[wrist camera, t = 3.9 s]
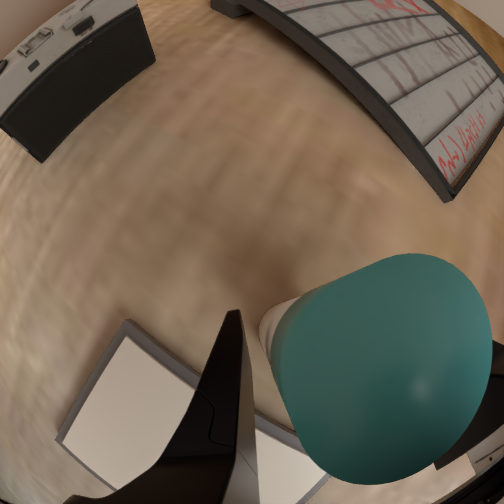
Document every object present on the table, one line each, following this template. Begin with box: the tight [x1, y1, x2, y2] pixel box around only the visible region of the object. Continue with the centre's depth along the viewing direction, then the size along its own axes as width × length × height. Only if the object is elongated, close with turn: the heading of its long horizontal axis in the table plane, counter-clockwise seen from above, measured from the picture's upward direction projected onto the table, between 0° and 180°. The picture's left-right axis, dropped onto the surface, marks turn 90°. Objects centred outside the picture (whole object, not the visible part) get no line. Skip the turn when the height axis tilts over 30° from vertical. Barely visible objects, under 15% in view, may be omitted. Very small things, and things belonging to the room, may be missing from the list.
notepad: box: [55, 319, 331, 504], centre depth 13 cm, size 12×16×1 cm
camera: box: [0, 0, 156, 164], centre depth 15 cm, size 14×8×10 cm, turn 138°
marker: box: [259, 253, 492, 485], centre depth 9 cm, size 4×4×13 cm
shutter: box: [211, 0, 504, 203], centre depth 22 cm, size 32×7×31 cm
